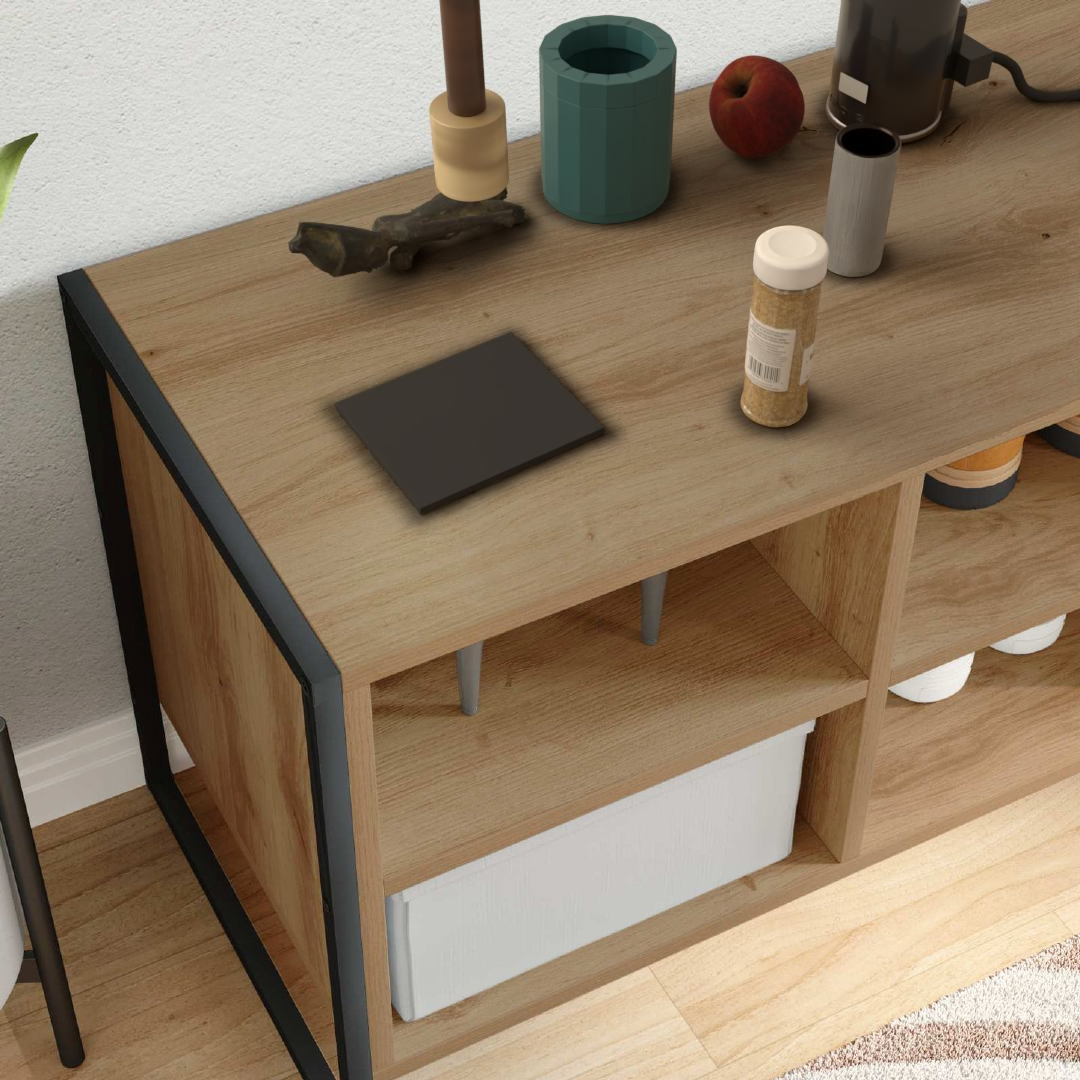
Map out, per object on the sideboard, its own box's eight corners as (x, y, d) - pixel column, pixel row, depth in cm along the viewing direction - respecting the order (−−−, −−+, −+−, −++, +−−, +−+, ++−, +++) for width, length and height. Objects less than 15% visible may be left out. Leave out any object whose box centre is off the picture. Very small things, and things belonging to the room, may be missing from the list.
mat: (511, 337, 112) (511, 331, 112) (604, 434, 105) (604, 427, 105) (335, 409, 107) (334, 402, 107) (420, 515, 100) (419, 508, 100)
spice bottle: (820, 413, 106) (845, 249, 96) (767, 439, 104) (787, 275, 95) (777, 376, 109) (797, 213, 99) (725, 401, 107) (740, 238, 97)
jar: (622, 138, 130) (626, 2, 121) (694, 197, 124) (702, 58, 115) (519, 176, 126) (514, 38, 117) (587, 238, 120) (588, 98, 111)
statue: (490, 228, 126) (272, 283, 115) (492, 161, 123) (268, 212, 112) (540, 253, 122) (318, 313, 111) (542, 185, 119) (315, 239, 108)
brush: (485, 151, 96) (465, -162, 82) (523, 185, 94) (509, -131, 80) (422, 175, 95) (391, -140, 81) (459, 210, 92) (433, -108, 78)
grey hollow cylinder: (842, 284, 116) (861, 163, 108) (807, 252, 118) (823, 132, 111) (893, 266, 117) (914, 146, 110) (857, 235, 120) (876, 115, 112)
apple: (689, 136, 130) (694, 47, 124) (772, 115, 132) (782, 26, 126) (730, 183, 125) (738, 92, 119) (816, 160, 127) (828, 70, 121)
